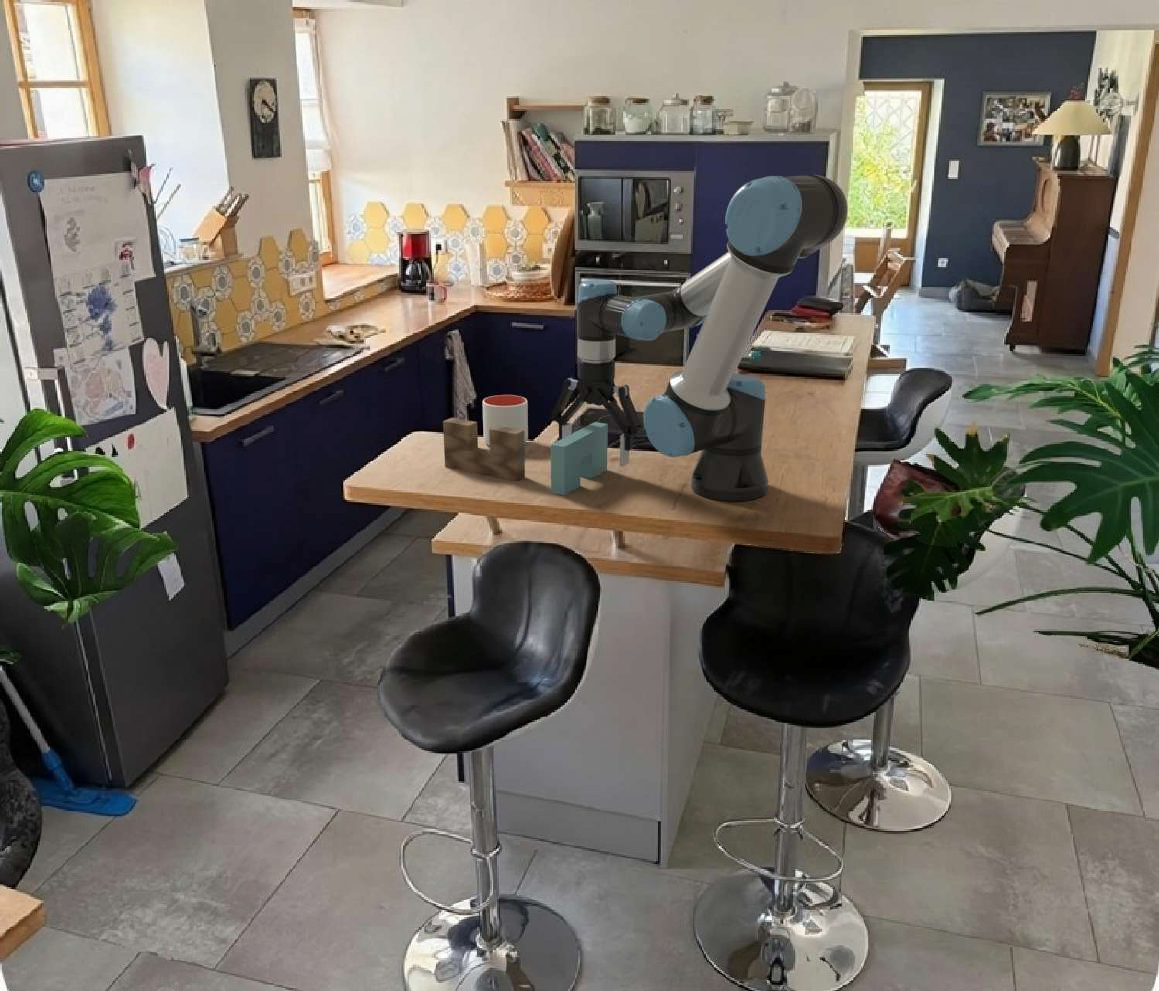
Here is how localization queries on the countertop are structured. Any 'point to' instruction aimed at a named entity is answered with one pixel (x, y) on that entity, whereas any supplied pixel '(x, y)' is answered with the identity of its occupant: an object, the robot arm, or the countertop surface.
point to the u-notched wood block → (484, 450)
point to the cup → (505, 414)
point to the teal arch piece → (578, 457)
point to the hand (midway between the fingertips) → (595, 459)
